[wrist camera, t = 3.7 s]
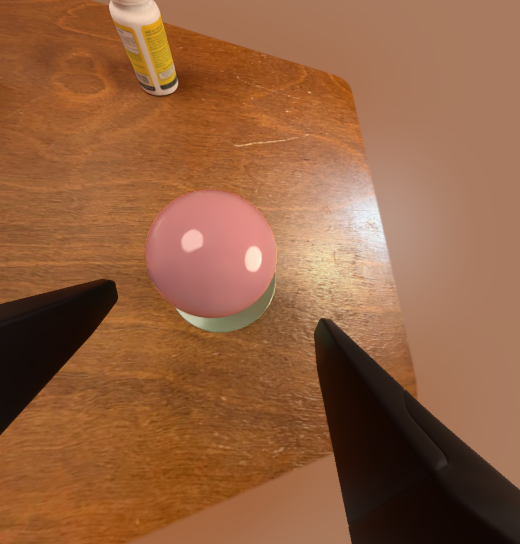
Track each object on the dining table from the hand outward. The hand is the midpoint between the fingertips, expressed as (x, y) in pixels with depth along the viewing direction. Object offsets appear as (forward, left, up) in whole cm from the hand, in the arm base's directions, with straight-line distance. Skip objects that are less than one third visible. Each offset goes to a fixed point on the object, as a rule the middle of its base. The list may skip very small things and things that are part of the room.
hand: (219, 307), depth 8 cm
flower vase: (+1, -1, -9) cm, 9 cm away
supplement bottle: (+28, -16, -9) cm, 33 cm away
